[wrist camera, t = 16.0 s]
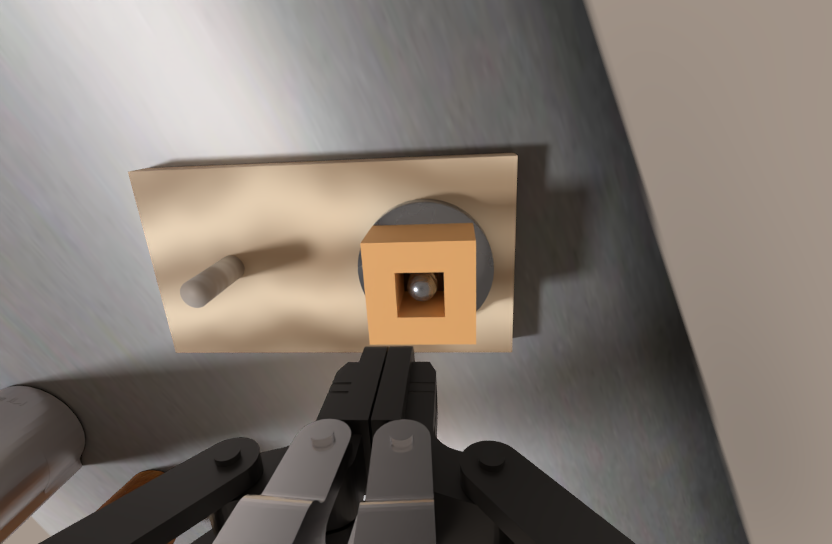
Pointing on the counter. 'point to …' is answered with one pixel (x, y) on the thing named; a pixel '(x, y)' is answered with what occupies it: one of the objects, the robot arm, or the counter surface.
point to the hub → (438, 213)
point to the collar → (419, 253)
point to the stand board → (307, 247)
